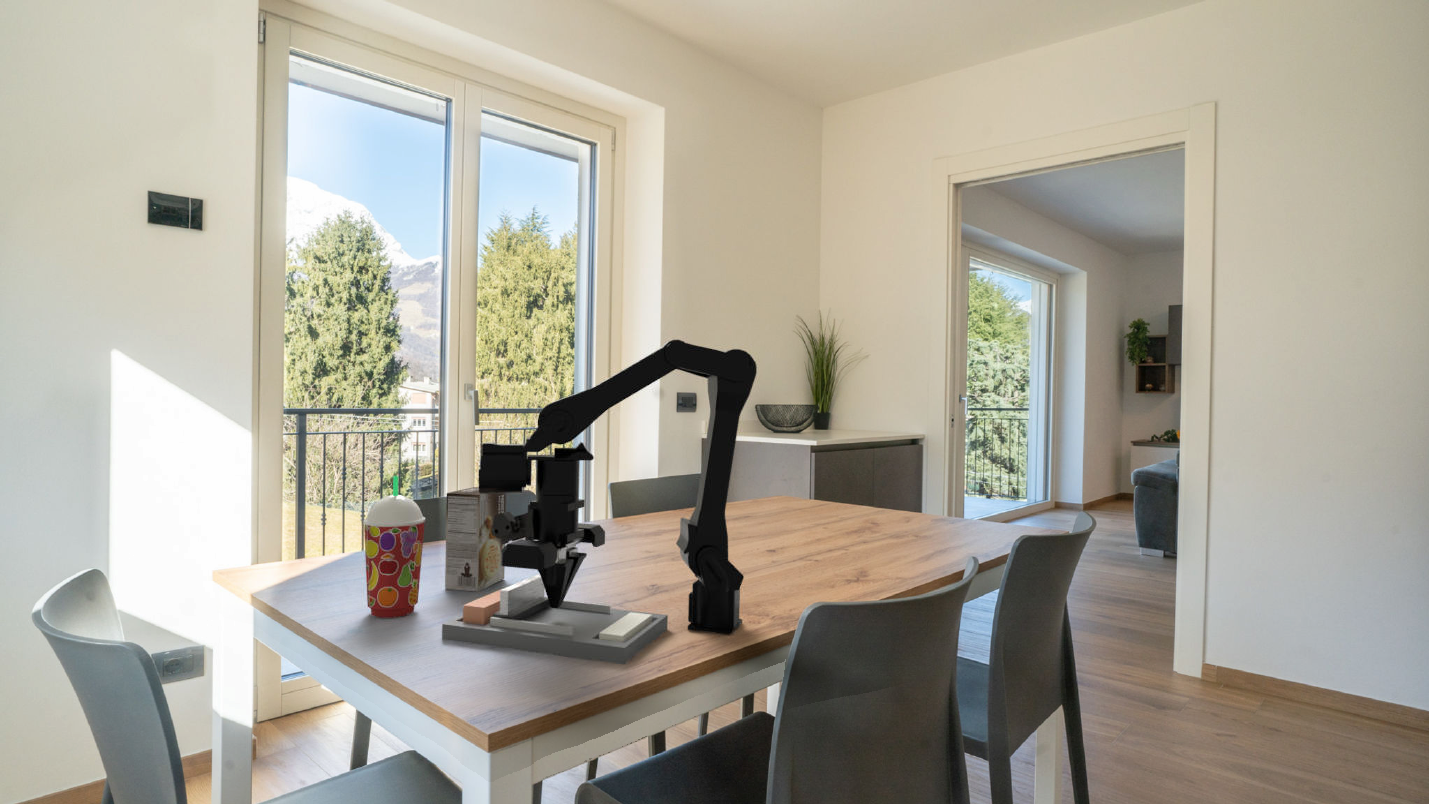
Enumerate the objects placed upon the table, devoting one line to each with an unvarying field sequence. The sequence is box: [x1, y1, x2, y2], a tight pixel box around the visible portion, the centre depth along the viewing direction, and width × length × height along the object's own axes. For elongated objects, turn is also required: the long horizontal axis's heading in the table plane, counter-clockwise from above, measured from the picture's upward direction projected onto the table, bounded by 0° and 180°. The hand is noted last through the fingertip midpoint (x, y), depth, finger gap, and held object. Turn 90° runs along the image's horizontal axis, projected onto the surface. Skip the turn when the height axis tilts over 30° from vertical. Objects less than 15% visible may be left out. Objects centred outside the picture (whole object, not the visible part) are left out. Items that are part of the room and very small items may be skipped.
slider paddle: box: [493, 574, 550, 620], centre depth 105 cm, size 3×10×4 cm, turn 163°
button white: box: [599, 612, 652, 643], centre depth 100 cm, size 3×10×2 cm, turn 163°
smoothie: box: [362, 475, 426, 619], centre depth 111 cm, size 8×8×20 cm
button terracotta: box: [462, 587, 505, 625], centre depth 106 cm, size 3×10×2 cm, turn 163°
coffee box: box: [444, 486, 507, 593], centre depth 129 cm, size 9×6×16 cm
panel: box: [441, 599, 669, 665], centre depth 103 cm, size 26×15×3 cm, turn 73°
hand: (555, 607), depth 103 cm, fingers closed
